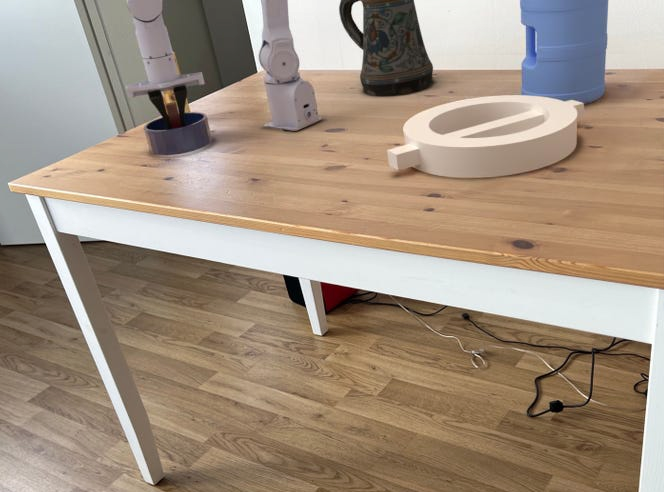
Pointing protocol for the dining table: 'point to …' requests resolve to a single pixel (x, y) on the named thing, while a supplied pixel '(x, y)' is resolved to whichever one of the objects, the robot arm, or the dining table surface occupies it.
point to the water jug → (565, 49)
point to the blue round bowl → (178, 135)
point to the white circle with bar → (489, 136)
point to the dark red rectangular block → (173, 115)
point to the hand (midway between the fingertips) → (177, 128)
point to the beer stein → (389, 47)
